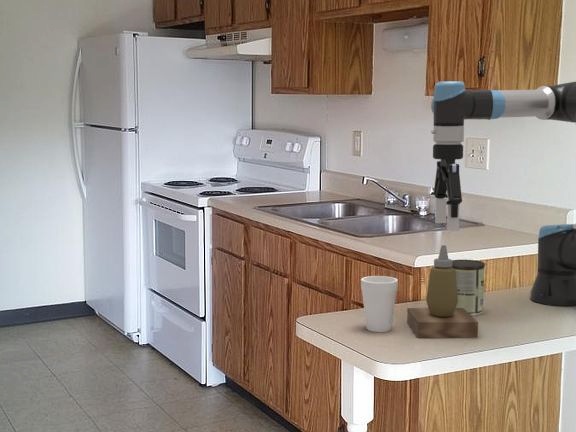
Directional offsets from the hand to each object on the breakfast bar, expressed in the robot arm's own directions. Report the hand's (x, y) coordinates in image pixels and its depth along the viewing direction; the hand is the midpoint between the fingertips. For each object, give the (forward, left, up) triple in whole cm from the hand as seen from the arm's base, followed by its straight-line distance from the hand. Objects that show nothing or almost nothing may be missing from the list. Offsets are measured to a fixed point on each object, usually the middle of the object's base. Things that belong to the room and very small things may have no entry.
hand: (446, 226), depth 204 cm
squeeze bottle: (+1, +1, -23) cm, 23 cm away
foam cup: (+17, 0, -27) cm, 32 cm away
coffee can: (-10, -18, -27) cm, 34 cm away
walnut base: (+1, +1, -27) cm, 27 cm away
